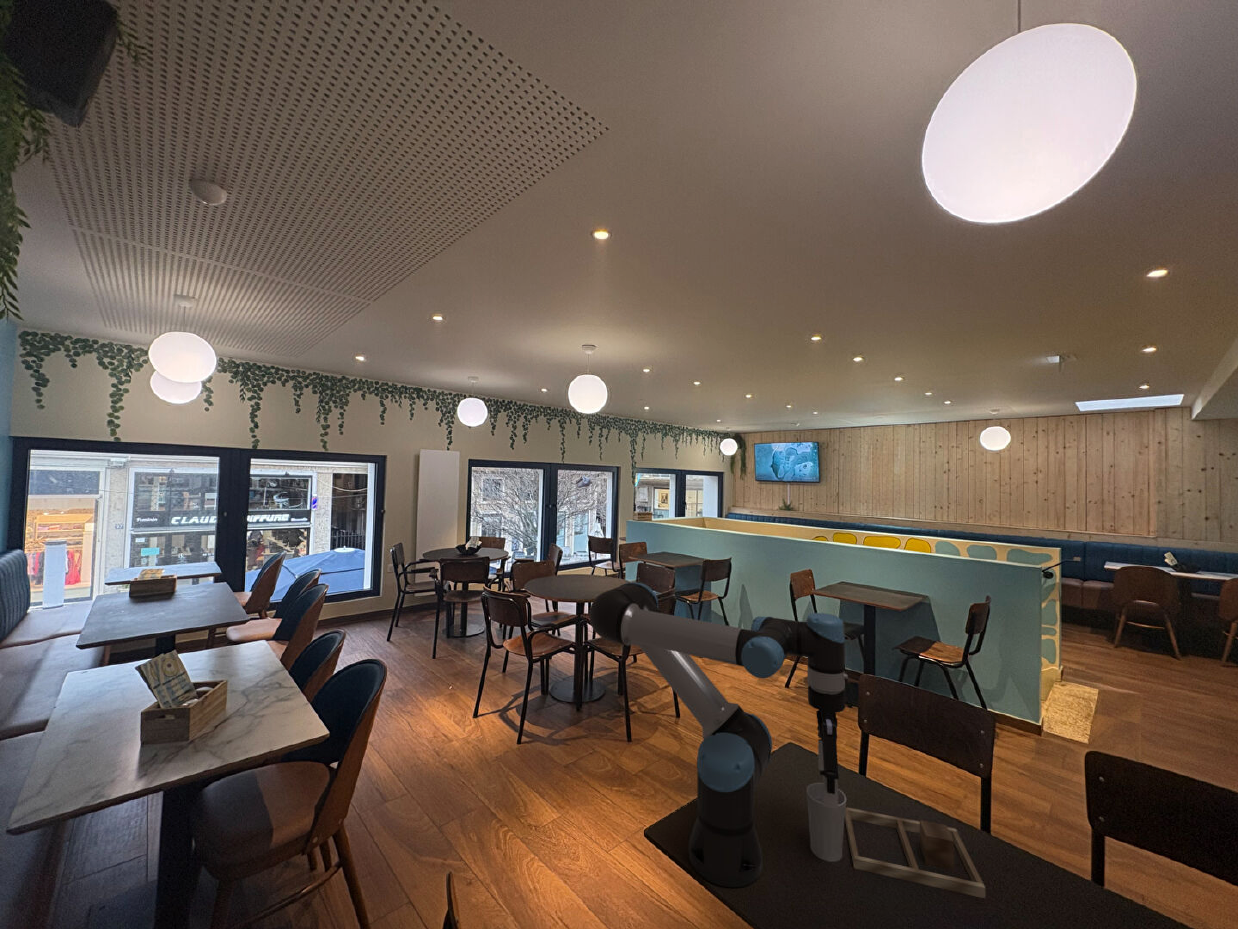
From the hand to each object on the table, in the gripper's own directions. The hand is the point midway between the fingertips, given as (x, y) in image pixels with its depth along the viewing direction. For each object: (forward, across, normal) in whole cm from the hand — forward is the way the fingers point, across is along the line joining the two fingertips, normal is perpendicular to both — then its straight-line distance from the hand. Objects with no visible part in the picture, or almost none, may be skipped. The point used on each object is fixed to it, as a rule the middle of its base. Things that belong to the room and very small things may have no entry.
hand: (827, 787), depth 107 cm
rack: (+14, +5, -16) cm, 22 cm away
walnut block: (+14, +5, -22) cm, 26 cm away
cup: (+14, 0, 0) cm, 14 cm away
